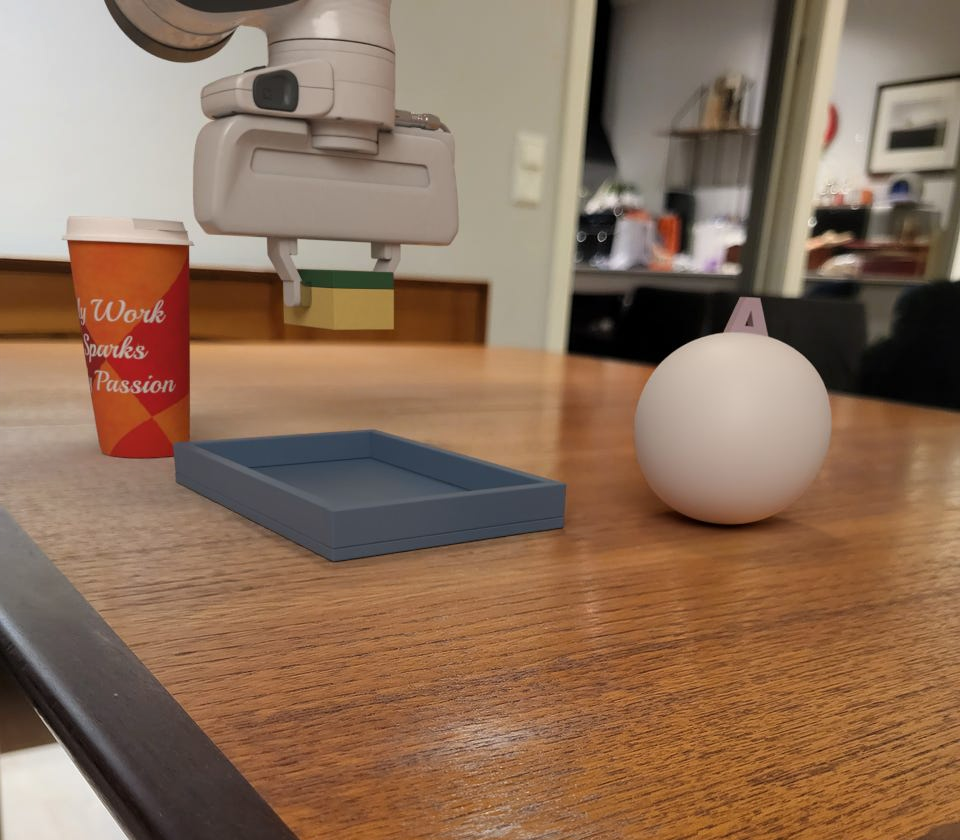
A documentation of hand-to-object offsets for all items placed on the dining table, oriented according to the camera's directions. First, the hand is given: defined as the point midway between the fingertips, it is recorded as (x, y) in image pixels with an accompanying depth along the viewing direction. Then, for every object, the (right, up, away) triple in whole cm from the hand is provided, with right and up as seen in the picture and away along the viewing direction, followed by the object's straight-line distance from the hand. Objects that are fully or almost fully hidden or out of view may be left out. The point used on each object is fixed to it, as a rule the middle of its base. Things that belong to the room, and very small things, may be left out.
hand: (336, 307), depth 75 cm
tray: (+4, -17, -18) cm, 25 cm away
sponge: (0, -1, 0) cm, 1 cm away
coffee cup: (-13, -12, -5) cm, 18 cm away
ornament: (+24, -18, -19) cm, 36 cm away
